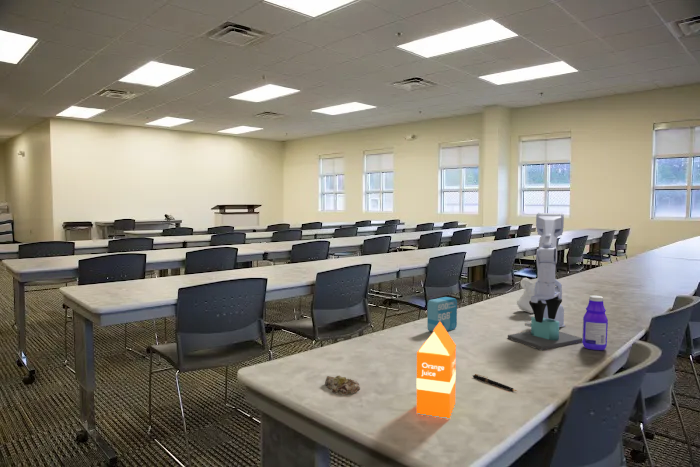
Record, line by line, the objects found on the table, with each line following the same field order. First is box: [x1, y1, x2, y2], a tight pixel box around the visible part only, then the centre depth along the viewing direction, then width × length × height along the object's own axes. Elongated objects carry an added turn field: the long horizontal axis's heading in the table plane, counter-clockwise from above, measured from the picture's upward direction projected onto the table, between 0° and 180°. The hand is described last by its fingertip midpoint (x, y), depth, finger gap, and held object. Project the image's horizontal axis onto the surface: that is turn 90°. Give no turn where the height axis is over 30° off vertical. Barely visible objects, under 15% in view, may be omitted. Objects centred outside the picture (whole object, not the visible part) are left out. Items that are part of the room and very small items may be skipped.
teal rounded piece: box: [524, 316, 560, 340], centre depth 166 cm, size 4×12×6 cm, turn 35°
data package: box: [426, 296, 458, 333], centre depth 178 cm, size 12×4×12 cm, turn 129°
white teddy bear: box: [516, 277, 537, 314], centre depth 205 cm, size 10×11×15 cm
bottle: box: [581, 294, 609, 351], centre depth 155 cm, size 7×6×17 cm
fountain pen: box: [472, 373, 518, 392], centre depth 125 cm, size 14×1×2 cm, turn 38°
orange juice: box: [416, 322, 457, 419], centre depth 110 cm, size 8×9×20 cm
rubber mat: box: [507, 330, 582, 351], centre depth 165 cm, size 20×15×1 cm
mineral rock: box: [324, 375, 361, 396], centre depth 124 cm, size 11×4×8 cm
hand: (545, 320), depth 164 cm, fingers open, 7 cm apart
